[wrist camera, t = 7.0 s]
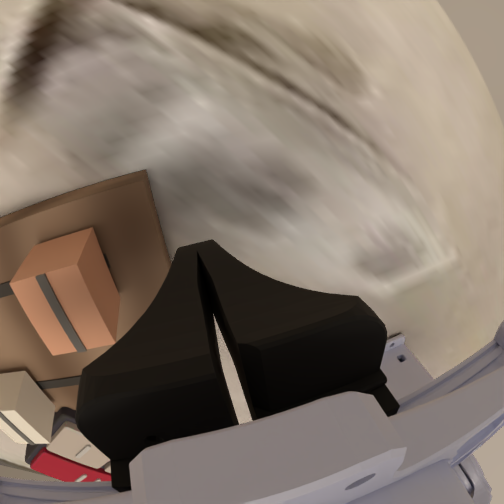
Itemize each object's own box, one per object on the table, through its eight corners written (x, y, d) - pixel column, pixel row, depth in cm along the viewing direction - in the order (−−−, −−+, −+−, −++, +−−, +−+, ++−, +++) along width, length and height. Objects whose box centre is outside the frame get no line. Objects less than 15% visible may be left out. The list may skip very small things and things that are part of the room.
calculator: (61, 422, 15) (227, 473, 22) (67, 376, 19) (215, 436, 26) (22, 469, 16) (159, 509, 23) (27, 432, 20) (153, 477, 27)
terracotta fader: (92, 227, 12) (76, 265, 9) (120, 298, 13) (115, 345, 11) (34, 245, 11) (8, 285, 8) (65, 311, 13) (52, 357, 10)
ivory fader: (25, 370, 14) (14, 411, 11) (55, 406, 16) (50, 444, 13) (-7, 374, 13) (-19, 412, 11) (23, 408, 15) (16, 444, 12)
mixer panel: (145, 169, 13) (143, 181, 12) (204, 363, 20) (210, 387, 18) (-68, 249, 11) (-85, 267, 9) (24, 394, 17) (20, 415, 16)
